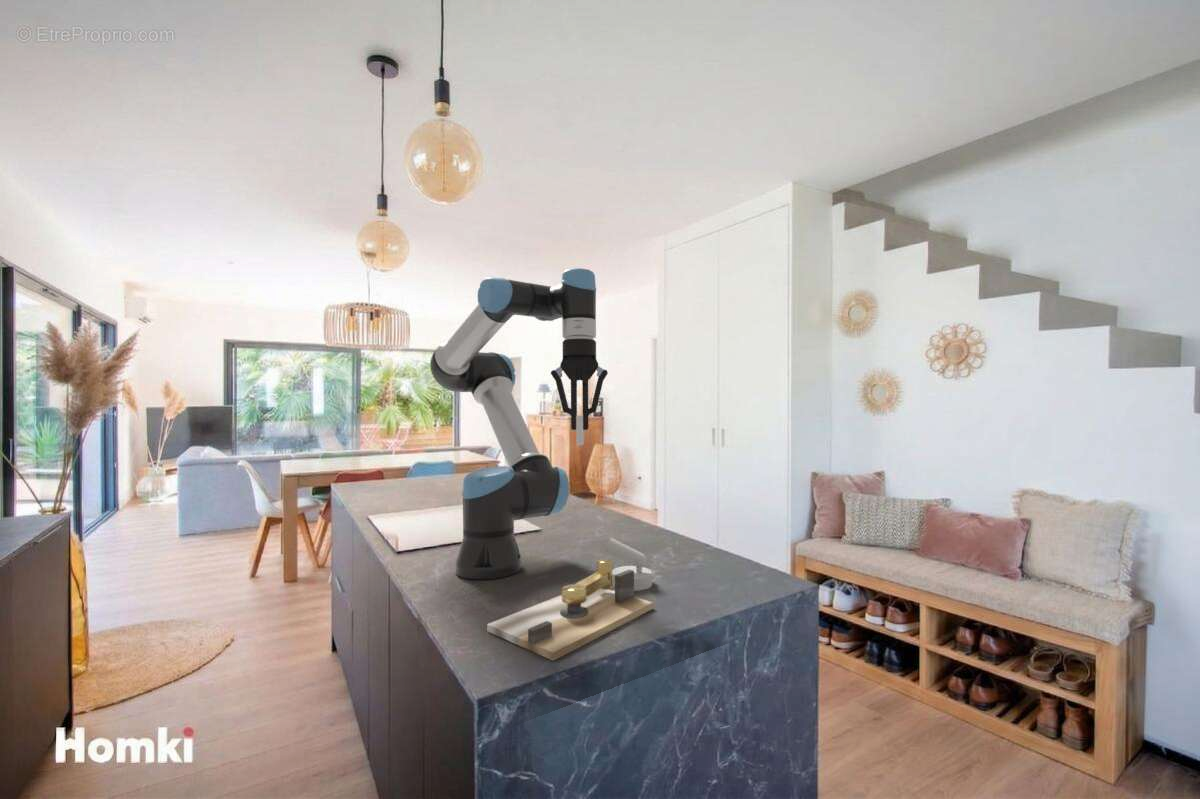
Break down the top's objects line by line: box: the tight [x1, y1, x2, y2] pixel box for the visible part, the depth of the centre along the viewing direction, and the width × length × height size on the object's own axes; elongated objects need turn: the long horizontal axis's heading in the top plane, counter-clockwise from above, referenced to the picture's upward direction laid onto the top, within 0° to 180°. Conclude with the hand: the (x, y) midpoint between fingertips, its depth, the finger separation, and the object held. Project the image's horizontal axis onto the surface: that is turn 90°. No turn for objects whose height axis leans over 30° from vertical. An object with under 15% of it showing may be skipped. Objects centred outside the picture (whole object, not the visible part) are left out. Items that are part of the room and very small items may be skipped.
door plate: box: [486, 570, 654, 661], centre depth 94 cm, size 16×26×6 cm, turn 139°
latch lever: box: [561, 558, 614, 604], centre depth 98 cm, size 15×4×5 cm, turn 150°
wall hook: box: [605, 537, 653, 592], centre depth 112 cm, size 9×10×10 cm
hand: (580, 444), depth 117 cm, fingers closed
